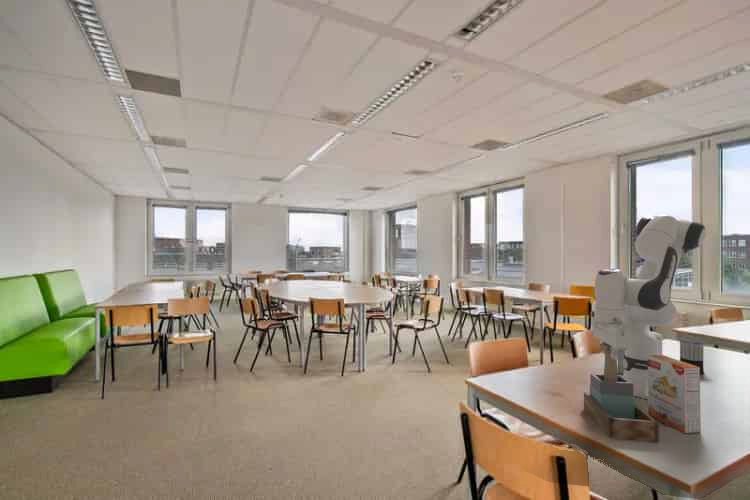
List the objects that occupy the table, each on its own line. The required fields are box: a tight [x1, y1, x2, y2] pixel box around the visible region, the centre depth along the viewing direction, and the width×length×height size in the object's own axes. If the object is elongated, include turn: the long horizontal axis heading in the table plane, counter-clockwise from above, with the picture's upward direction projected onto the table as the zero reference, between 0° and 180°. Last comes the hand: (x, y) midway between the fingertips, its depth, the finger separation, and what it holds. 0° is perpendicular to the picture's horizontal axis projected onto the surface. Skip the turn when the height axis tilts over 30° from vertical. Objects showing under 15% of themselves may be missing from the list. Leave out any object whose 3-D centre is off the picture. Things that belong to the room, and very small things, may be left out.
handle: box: [599, 343, 622, 382], centre depth 127 cm, size 5×6×15 cm
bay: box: [583, 391, 660, 444], centre depth 122 cm, size 13×22×6 cm, turn 169°
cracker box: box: [647, 354, 702, 435], centre depth 122 cm, size 14×6×21 cm, turn 5°
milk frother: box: [678, 337, 705, 375], centre depth 179 cm, size 14×16×15 cm
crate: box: [589, 373, 636, 419], centre depth 126 cm, size 10×10×12 cm
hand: (609, 356), depth 127 cm, fingers open, 5 cm apart
